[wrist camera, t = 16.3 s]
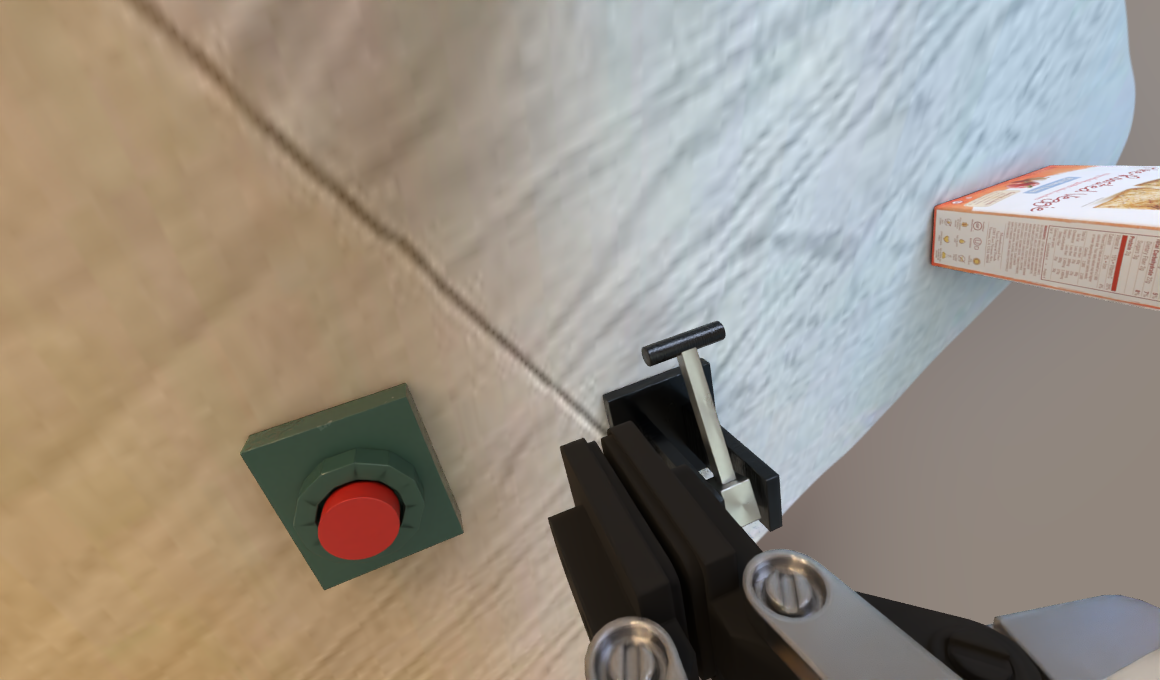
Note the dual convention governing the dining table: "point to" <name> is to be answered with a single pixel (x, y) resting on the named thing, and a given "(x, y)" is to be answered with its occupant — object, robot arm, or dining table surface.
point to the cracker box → (1061, 232)
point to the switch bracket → (689, 435)
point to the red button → (359, 520)
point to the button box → (355, 476)
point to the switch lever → (707, 416)
